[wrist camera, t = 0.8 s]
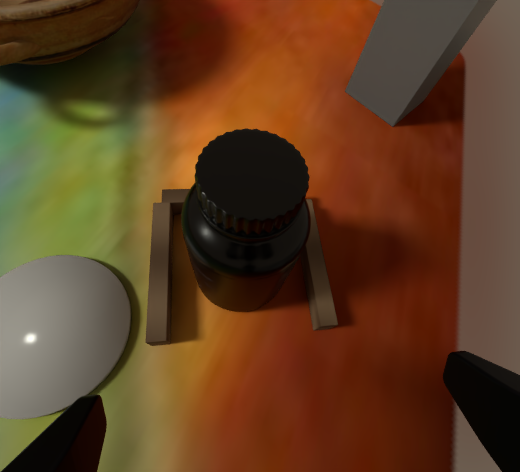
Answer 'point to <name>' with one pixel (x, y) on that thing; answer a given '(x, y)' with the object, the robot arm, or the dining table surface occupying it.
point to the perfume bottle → (411, 52)
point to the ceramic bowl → (57, 28)
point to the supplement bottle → (246, 217)
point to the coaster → (58, 333)
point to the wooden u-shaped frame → (162, 271)
